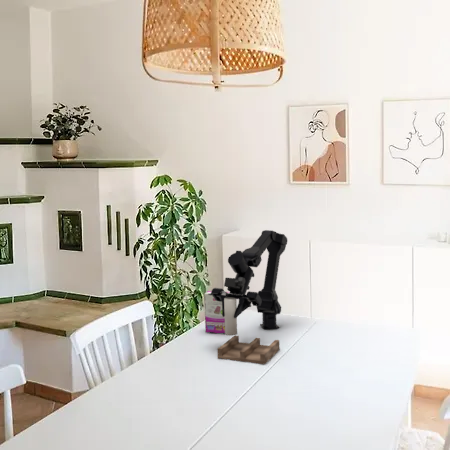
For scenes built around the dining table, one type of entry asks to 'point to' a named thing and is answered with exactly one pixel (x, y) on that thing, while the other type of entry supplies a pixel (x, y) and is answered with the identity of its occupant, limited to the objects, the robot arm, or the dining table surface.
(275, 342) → the wooden compartment tray
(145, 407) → the dining table surface
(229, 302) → the rounded tapered clay block
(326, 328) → the dining table surface
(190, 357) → the dining table surface
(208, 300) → the candy bar box
